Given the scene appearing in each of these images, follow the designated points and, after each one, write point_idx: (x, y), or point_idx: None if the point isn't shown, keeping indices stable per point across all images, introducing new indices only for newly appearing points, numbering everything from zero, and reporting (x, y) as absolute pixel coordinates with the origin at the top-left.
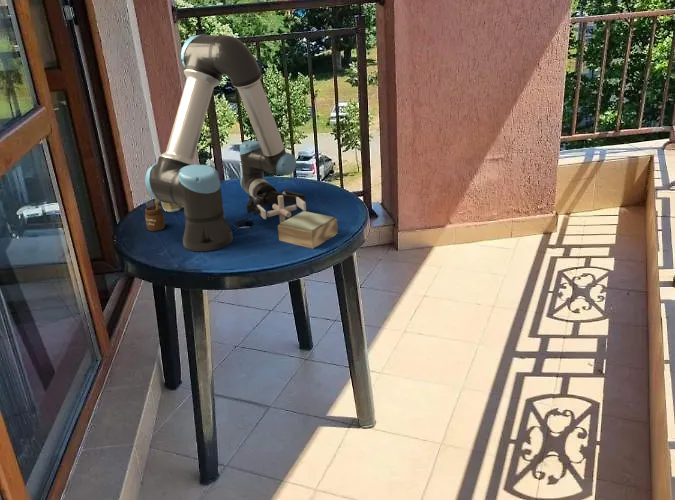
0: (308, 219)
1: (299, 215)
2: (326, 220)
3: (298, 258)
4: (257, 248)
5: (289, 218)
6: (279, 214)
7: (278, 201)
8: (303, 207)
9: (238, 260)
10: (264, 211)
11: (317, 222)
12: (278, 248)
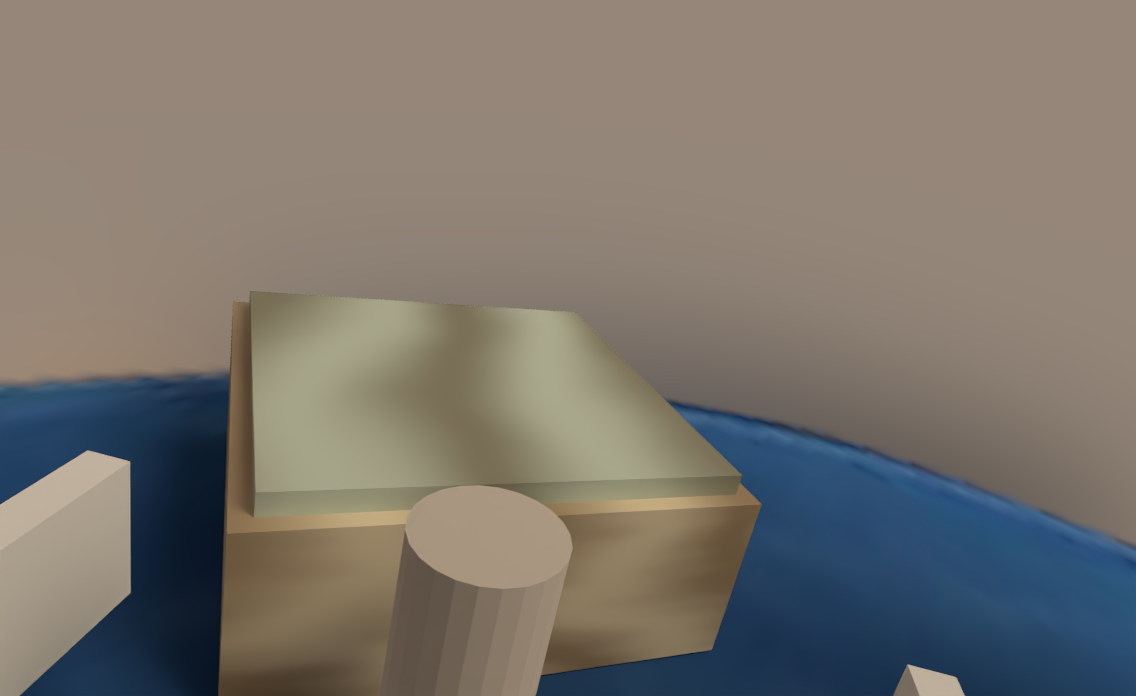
0: (445, 374)
1: (432, 456)
2: (355, 305)
3: (695, 425)
4: (954, 666)
5: (586, 478)
6: None
7: (545, 649)
8: (116, 552)
9: (1111, 616)
10: (929, 680)
11: (440, 324)
12: (768, 558)
